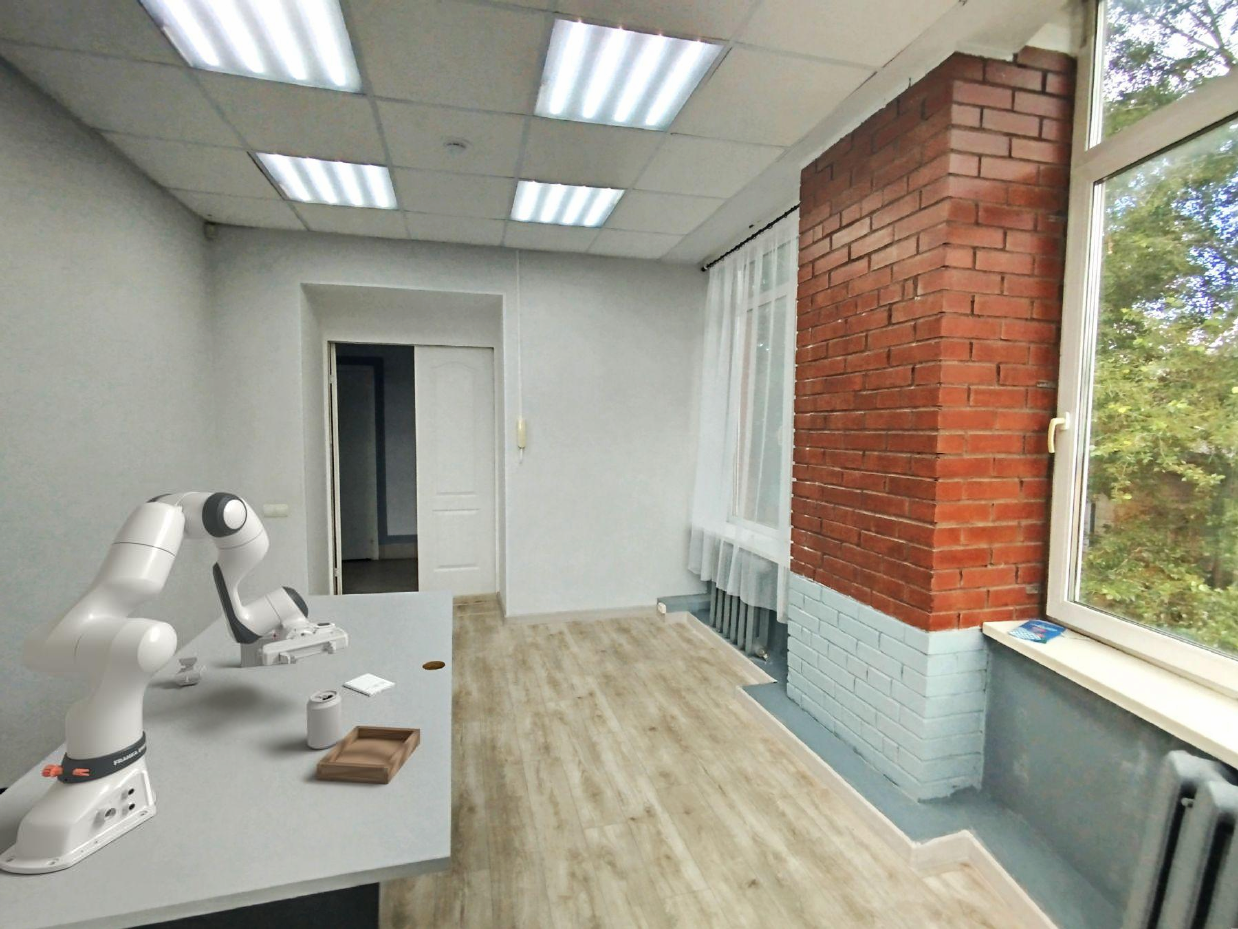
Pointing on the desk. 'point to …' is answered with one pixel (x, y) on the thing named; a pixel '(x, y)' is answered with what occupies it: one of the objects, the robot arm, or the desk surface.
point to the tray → (369, 754)
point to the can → (324, 719)
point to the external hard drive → (369, 684)
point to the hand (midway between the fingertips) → (312, 656)
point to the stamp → (189, 670)
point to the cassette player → (256, 651)
